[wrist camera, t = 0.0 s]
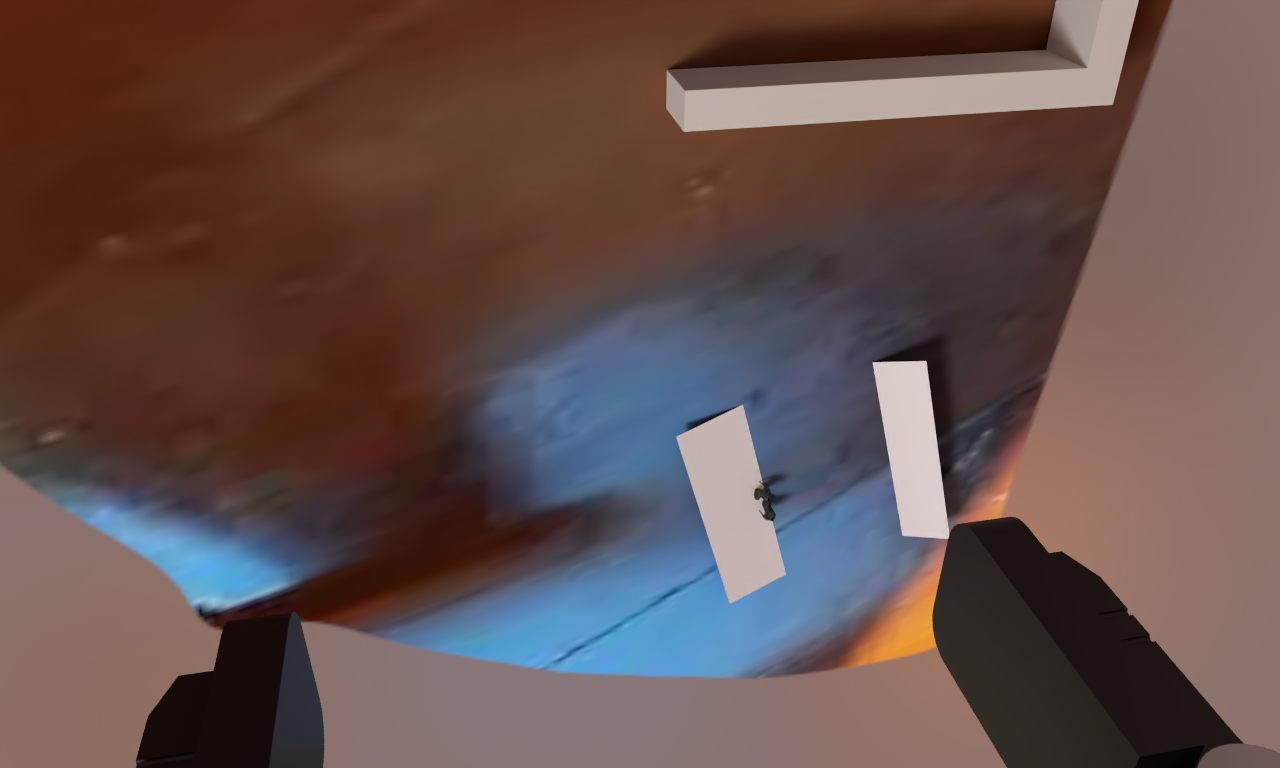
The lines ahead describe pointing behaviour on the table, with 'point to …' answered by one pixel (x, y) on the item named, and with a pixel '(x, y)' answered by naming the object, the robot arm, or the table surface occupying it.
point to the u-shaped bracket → (917, 79)
